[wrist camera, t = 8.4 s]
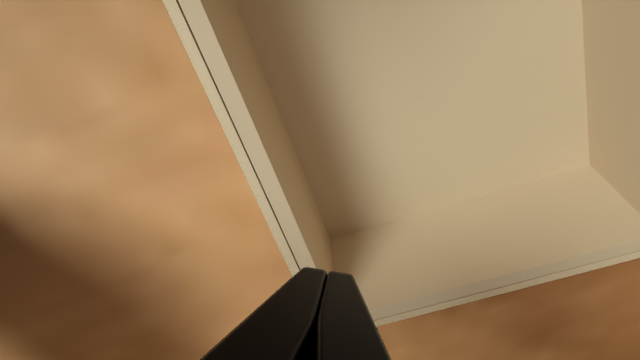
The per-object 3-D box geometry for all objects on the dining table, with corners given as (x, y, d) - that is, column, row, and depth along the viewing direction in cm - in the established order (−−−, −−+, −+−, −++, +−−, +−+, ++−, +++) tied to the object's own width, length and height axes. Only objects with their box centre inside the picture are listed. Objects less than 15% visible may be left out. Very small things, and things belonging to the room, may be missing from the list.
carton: (316, 252, 23) (322, 340, 19) (132, -184, 14) (66, -204, 10) (598, 172, 21) (674, 249, 17) (576, -366, 13) (717, -479, 9)
